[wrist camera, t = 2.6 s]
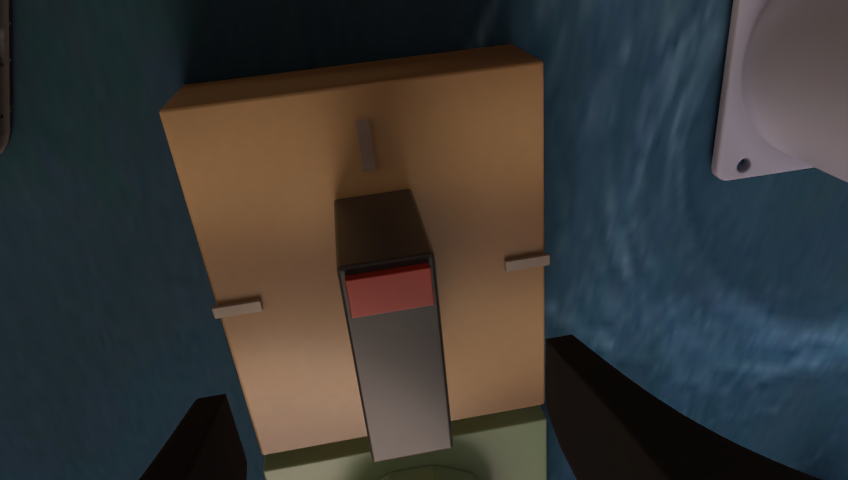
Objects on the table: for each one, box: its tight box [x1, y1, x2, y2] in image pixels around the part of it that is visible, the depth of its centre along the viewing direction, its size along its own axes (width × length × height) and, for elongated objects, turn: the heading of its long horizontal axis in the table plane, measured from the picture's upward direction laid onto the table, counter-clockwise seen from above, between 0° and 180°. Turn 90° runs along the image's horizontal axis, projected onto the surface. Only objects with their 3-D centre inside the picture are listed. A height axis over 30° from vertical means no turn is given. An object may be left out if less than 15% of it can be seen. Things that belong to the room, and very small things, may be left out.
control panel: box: [159, 44, 550, 455], centre depth 20 cm, size 12×10×3 cm
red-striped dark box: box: [334, 189, 453, 462], centre depth 16 cm, size 6×2×4 cm, turn 5°
